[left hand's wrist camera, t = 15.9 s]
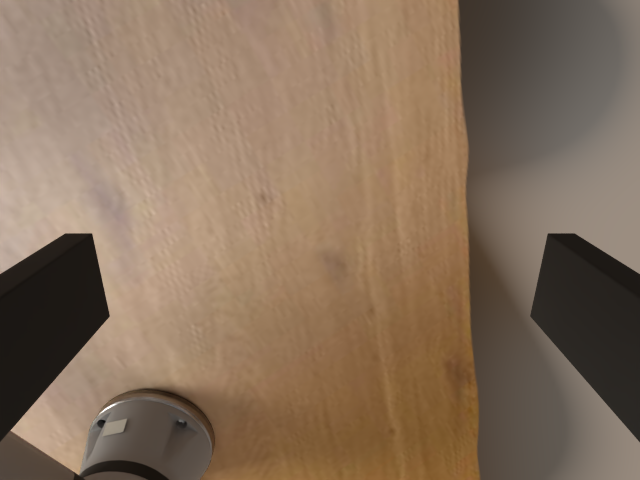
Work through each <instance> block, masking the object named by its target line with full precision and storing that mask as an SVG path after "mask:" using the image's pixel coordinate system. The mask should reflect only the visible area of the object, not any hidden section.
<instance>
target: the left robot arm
mask: <svg viewBox="0 0 640 480" xmlns="http://www.w3.org/2000/svg"><path fill="white" fill-rule="evenodd" d="M109 316H110V315H109V311H108V306H107V301H106V297H105V292H104V287H103V283H102V278H101V273H100V268H99V264H98V259H97V254H96V250H95V245H94V240H93V236H92V234H64V235H62V236H61V237H59V238H58V239H56V240H54V241H53V242H51V243H50V244H48V245H46V246H45V247H43V248H42V249H40V250H38V251H37V252H35V253H34V254H32V255H30V256H29V257H27V258H26V259H24V260H22V261H21V262H19V263H18V264H16V265H14V266H13V267H11V268H9V269H8V270H6V271H5V272H3V273H1V274H0V480H200V478H201V477H202V476H203V474H204V473H205V471H206V470H207V468H208V466H209V464H210V461H211V457H212V454H213V450H214V445H215V437H214V432H213V429H212V427H211V424H210V423H209V421H208V419H207V418H206V417H205V415H204V414H203V413H202V412H201V411H200V410H199V409H198V408H197V407H195V406H194V405H193V404H191V403H190V402H188V401H187V400H185V399H183V398H181V397H178V396H176V395H173V394H170V393H167V392H162V391H156V390H137V391H131V392H127V393H124V394H121V395H119V396H117V397H115V398H113V399H112V400H110V401H109V402H108V403H106V404H105V405H104V407H103V408H102V409H101V410H100V412H99V413H98V415H97V416H96V418H95V420H94V421H93V423H92V425H91V427H90V430H89V434H88V438H87V443H86V447H85V452H84V456H83V461H82V465H81V470H80V474H79V475H78V474H76V473H75V472H73V471H71V470H70V469H68V468H67V467H65V466H64V465H62V464H61V463H59V462H58V461H56V460H54V459H53V458H51V457H50V456H48V455H47V454H45V453H44V452H42V451H41V450H39V449H38V448H36V447H35V446H33V445H31V444H30V443H28V442H27V441H25V440H24V439H22V438H21V437H19V436H18V435H16V434H15V433H13V432H12V431H10V430H11V429H12V428H13V427H14V426H15V424H16V423H17V422H18V421H19V420H20V419H21V418H22V416H23V415H24V414H25V413H26V412H27V411H28V410H29V408H30V407H31V406H32V405H33V404H34V403H35V402H36V400H37V399H38V398H39V397H40V396H41V395H42V393H43V392H44V391H45V390H46V389H47V388H48V387H49V385H50V384H51V383H52V382H53V381H54V380H55V379H56V377H57V376H58V375H59V374H60V373H61V372H62V370H63V369H64V368H65V367H66V366H67V365H68V364H69V362H70V361H71V360H72V359H73V358H74V357H75V356H76V354H77V353H78V352H79V351H80V350H81V349H82V347H83V346H84V345H85V344H86V343H87V342H88V341H89V339H90V338H91V337H92V336H93V335H94V334H95V333H96V331H97V330H98V329H99V328H100V327H101V326H102V324H103V323H104V322H105V321H106V320H107V319H108V318H109ZM530 316H531V318H532V319H533V320H534V321H535V322H536V323H537V324H538V326H539V327H540V328H541V329H542V330H543V331H544V333H545V334H546V335H547V336H548V337H549V338H550V339H551V341H552V342H553V343H554V344H555V345H556V346H557V347H558V349H559V350H560V351H561V352H562V353H563V354H564V356H565V357H566V358H567V359H568V360H569V361H570V362H571V364H572V365H573V366H574V367H575V368H576V369H577V370H578V372H579V373H580V374H581V375H582V376H583V377H584V379H585V380H586V381H587V382H588V383H589V384H590V385H591V387H592V388H593V389H594V390H595V391H596V392H597V393H598V395H599V396H600V397H601V398H602V399H603V400H604V402H605V403H606V404H607V405H608V406H609V407H610V408H611V410H612V411H613V412H614V413H615V414H616V415H617V416H618V418H619V419H620V420H621V421H622V422H623V423H624V424H625V426H626V427H627V428H628V429H629V430H630V431H631V433H632V434H633V435H634V436H635V437H636V438H637V439H638V441H639V442H640V274H638V273H637V272H635V271H634V270H632V269H630V268H629V267H627V266H626V265H624V264H622V263H621V262H619V261H618V260H616V259H614V258H613V257H611V256H610V255H608V254H606V253H605V252H603V251H602V250H600V249H598V248H597V247H595V246H594V245H592V244H590V243H589V242H587V241H586V240H584V239H582V238H581V237H579V236H578V235H576V234H548V236H547V240H546V245H545V250H544V254H543V259H542V264H541V268H540V273H539V278H538V282H537V287H536V292H535V297H534V301H533V306H532V311H531V315H530Z"/></svg>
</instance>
